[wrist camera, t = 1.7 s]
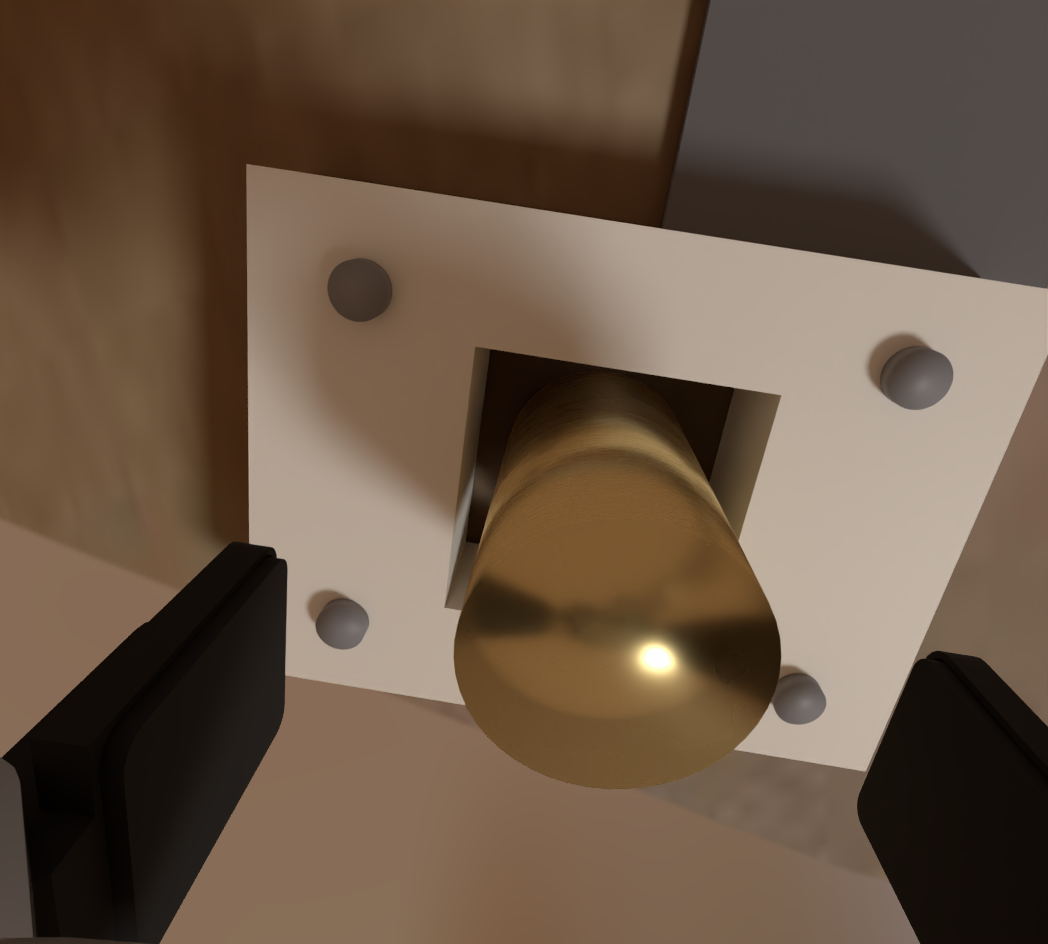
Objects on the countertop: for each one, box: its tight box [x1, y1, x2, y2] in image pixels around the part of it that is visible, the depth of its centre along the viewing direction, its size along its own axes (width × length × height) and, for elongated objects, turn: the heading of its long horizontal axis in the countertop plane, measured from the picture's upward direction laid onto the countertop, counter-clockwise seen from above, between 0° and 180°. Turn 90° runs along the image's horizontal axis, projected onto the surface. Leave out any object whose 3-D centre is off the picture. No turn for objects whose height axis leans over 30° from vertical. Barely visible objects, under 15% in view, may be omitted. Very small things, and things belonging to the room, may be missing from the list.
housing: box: [246, 164, 1048, 771], centre depth 16 cm, size 16×12×4 cm
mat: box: [661, 0, 1048, 288], centre depth 14 cm, size 9×9×1 cm
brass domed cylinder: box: [453, 370, 781, 789], centre depth 14 cm, size 5×5×9 cm
